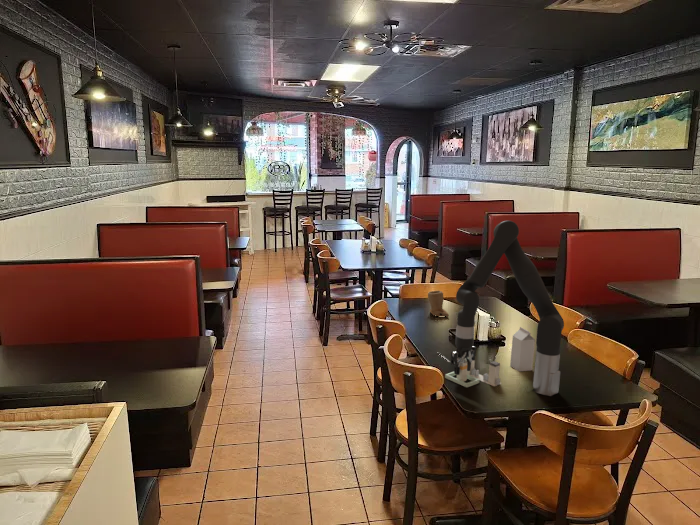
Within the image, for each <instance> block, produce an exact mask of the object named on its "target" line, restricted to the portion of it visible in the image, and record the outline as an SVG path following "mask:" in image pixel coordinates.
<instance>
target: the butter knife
mask: <svg viewBox="0 0 700 525" xmlns="http://www.w3.org/2000/svg"><path fill="white" fill-rule="evenodd" d="M440 354H441V353H440ZM440 354H439V355H440ZM439 355H438V356H439ZM442 355H443V354H442ZM442 355H441V357H440V358H442V357H443V358H444V360H445V359H446V360H447V361H446V360H445V361H446V362H448V363H451V360H449V359H448V358H446V356H444V355H443V356H442ZM443 358H442V359H443Z"/></svg>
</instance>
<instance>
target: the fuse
mask: <svg viewBox="0 0 700 525" xmlns="http://www.w3.org/2000/svg"><path fill="white" fill-rule="evenodd" d="M458 362H459V361H457V363H458ZM456 378H457V379H459V380H461V381H463V382H466V381H467V380H468V379H467V362H466V361H465V359H463V362H461V364H460V374H459V375H456Z"/></svg>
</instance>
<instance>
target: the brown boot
mask: <svg viewBox="0 0 700 525" xmlns="http://www.w3.org/2000/svg"><path fill="white" fill-rule="evenodd" d="M427 298H428V302H429V304H430V310H429V313H430V314H432V315H433V316H434V315H436V316H446V317H445V318H448V317H450V315H449V313H448V312H447V311H446V310H445V309H444V308H443V304H444V292H443V291H441V290H432V291H428V293H427ZM436 316H435V317H436Z"/></svg>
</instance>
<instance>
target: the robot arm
mask: <svg viewBox="0 0 700 525" xmlns="http://www.w3.org/2000/svg"><path fill="white" fill-rule="evenodd" d="M519 232H520V228H519V226H518V224H517V223H516V222H514V221H512V220H504V221H501V222H499V223H498V224H496V226H495V227H494V229H493V239H492V242H491V243H490V245H489V247H488V249H487V250H486V252H485V253H484V254H483V256H482V257H481V259H480V260H478V263H477V264H476V265H475V267H474V269H473V271H472V272H471V274H470V276H469V277H468V278H467V279H466V280H465V281H464V282H463V283H462V284H461V285H460V287H459V288H458V289H457V291H456V295H455V298H456V301H457V302H458V304H459V303H460V304H462V306H463V308H462V309H461V310H459V311H458V312H457V321H456V323H457V324H456V329H455V347H456V350H455V351H451V352H450V364H451V365H452V366H454V369H453V372H454V373H455V374H457V375H459V374H460V364H461V362H463V360H465V359H466V362H467V371H470V369H471V363H472V361H473V360H475V361H476V355H477V354H476V353H477V347H476V346H474V342H475V317H476V314H477V311H478V308H479V306H480V295H479V294H478V292H476V291H477V289H481V288H484V287H485V286H486V284H487V282H488V280H489V279H490V277H491V275H492V274H493V273H494V271H495V268H496V267H497V265H498V263H499V261H500V260H501V258H502V257H503V255H505V258H506V260H507V261H508V262H507V263H508V264H509V267H510V270H511V271H512V273H513V276H514V278H515V281H516V283H517V284H518V286H519V288H520V289H521V291H522V293H523V295H525V297H526V298H527V299H528V300H529V301H530V302H531V304H532V305H533V307H534V308H535V310H536V314H537V315H538V318H539V320H538V323H537V326H536V327H537V328H536V340H535V343H536V351H535V360H534V362H535V363H534V370H533V372H534V373H533V380H532V381H533V383H532V387H533V389H532V390H533V392H534V393H537V394H540V395H543V396H548V397H553V396H554V395H556V394H558V393H559V388H560V379H561V370H559V368H560V360H561V350H562V348H561V341H562V332H563V329H564V327H565V323H564V322H565V320H564V319H563V316H562V315H561V313H560V311H559V310H558V309H557V307H556V306H555V304H554V302H553V300H552V299H551V297H550V295H549V292H548V290H547V288H546V286H545V283H544V281H543V279H542V277H541V275H540V273H539V271H538V269H537V267H536V265H535V264H534V262H533V261H532V260H531V259H530V258H529V257H528V255H527V254H526V253H525V251H524V250H523V248H522V247H521V244H520V241H519V238H518V237H519V234H520V233H519ZM472 355H473V357H472ZM457 361H459V362H458V363H457ZM457 375H456V376H457Z"/></svg>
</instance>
